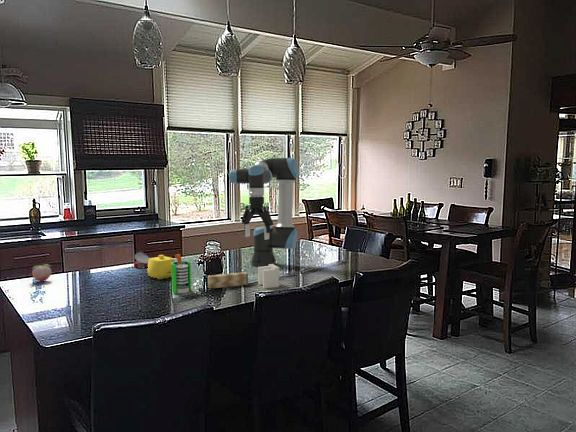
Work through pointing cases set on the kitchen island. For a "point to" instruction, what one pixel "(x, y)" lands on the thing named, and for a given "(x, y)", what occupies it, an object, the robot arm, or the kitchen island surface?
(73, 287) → the kitchen island surface
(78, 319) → the kitchen island surface
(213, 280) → the rail
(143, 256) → the canned food
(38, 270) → the decorative fruit
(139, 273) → the kitchen island surface
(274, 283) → the white stepped block
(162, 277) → the teapot
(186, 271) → the green-shelled ribbed roller
